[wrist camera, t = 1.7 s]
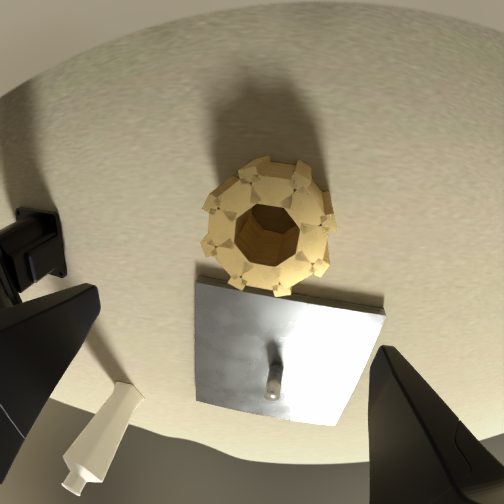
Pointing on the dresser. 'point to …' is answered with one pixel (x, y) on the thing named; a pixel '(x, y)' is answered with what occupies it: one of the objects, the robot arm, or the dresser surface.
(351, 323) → the carrier plate
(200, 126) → the dresser surface
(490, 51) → the dresser surface
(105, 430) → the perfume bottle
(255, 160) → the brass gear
